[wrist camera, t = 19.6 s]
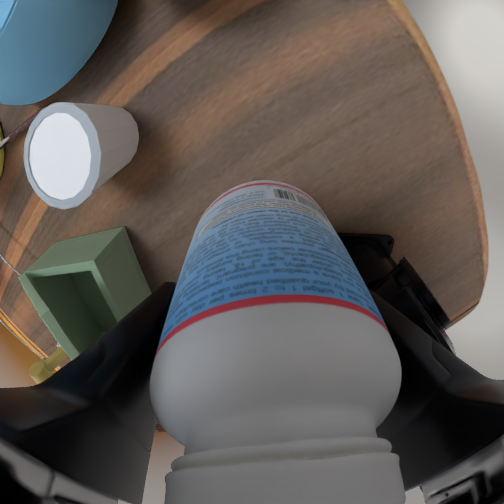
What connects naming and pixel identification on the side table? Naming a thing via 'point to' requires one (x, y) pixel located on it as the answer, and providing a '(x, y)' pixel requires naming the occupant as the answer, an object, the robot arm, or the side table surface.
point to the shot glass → (77, 150)
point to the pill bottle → (275, 361)
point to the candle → (1, 153)
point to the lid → (43, 369)
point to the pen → (19, 130)
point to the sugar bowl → (47, 44)
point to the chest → (89, 283)
